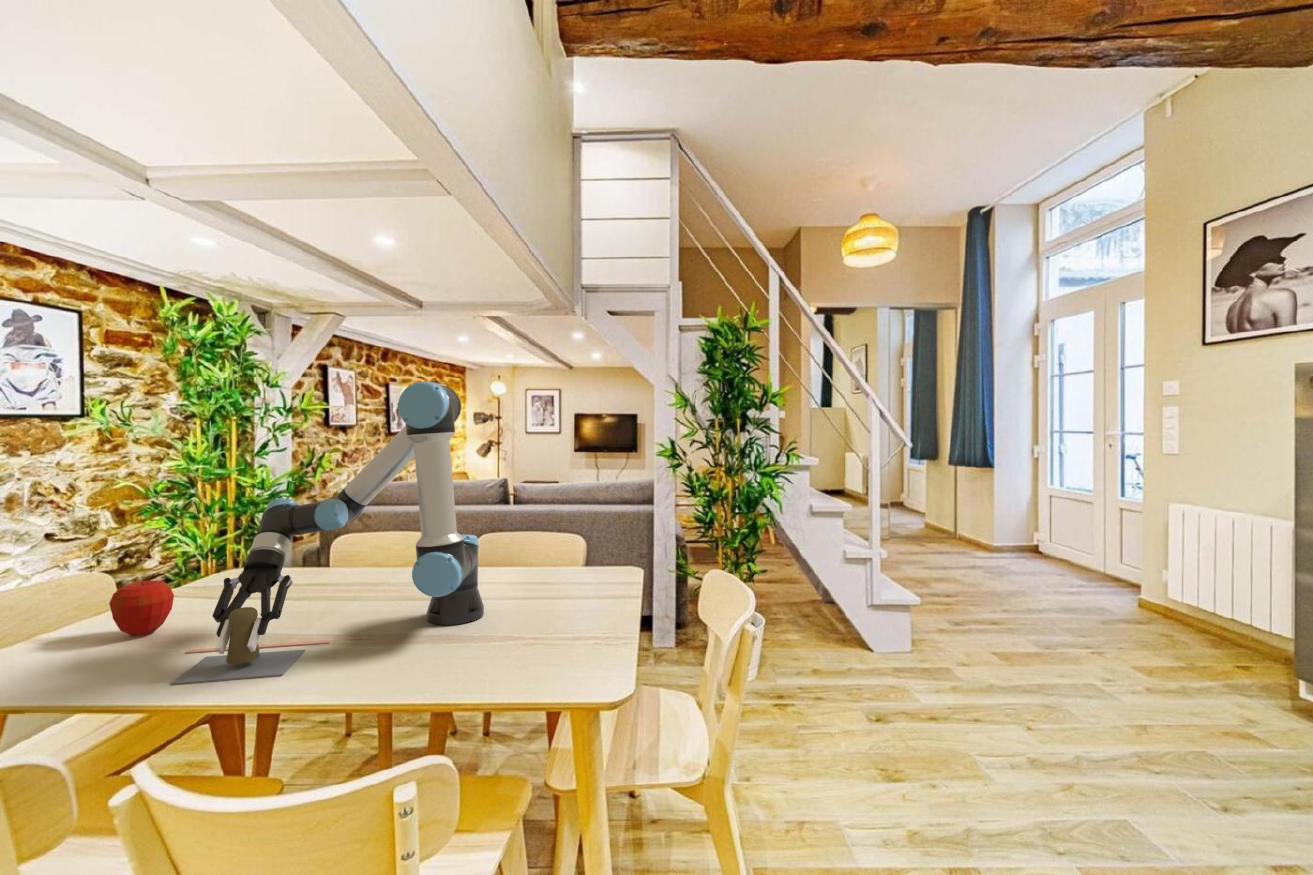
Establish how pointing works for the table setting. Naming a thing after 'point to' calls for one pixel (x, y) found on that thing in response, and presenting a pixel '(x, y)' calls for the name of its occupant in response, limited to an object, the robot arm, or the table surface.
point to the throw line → (266, 646)
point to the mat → (239, 668)
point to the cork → (241, 636)
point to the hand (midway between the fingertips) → (235, 649)
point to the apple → (141, 606)
